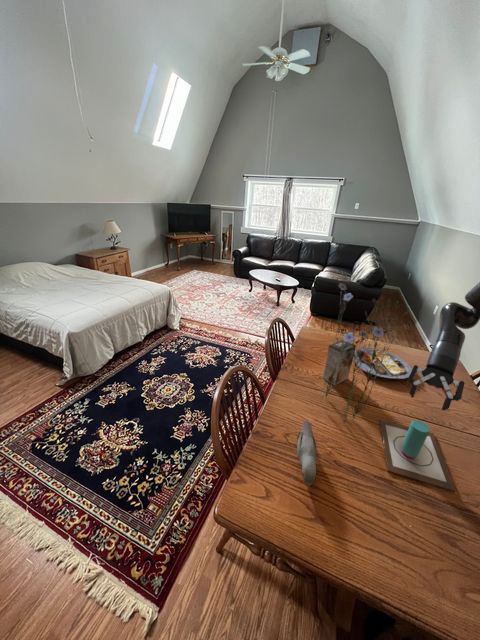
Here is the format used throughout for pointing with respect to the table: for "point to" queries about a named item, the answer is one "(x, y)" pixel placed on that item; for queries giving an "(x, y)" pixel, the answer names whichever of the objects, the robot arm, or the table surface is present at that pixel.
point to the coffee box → (343, 365)
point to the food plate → (383, 363)
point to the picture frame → (422, 467)
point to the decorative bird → (307, 453)
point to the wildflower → (349, 339)
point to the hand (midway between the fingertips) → (427, 403)
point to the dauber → (414, 439)
